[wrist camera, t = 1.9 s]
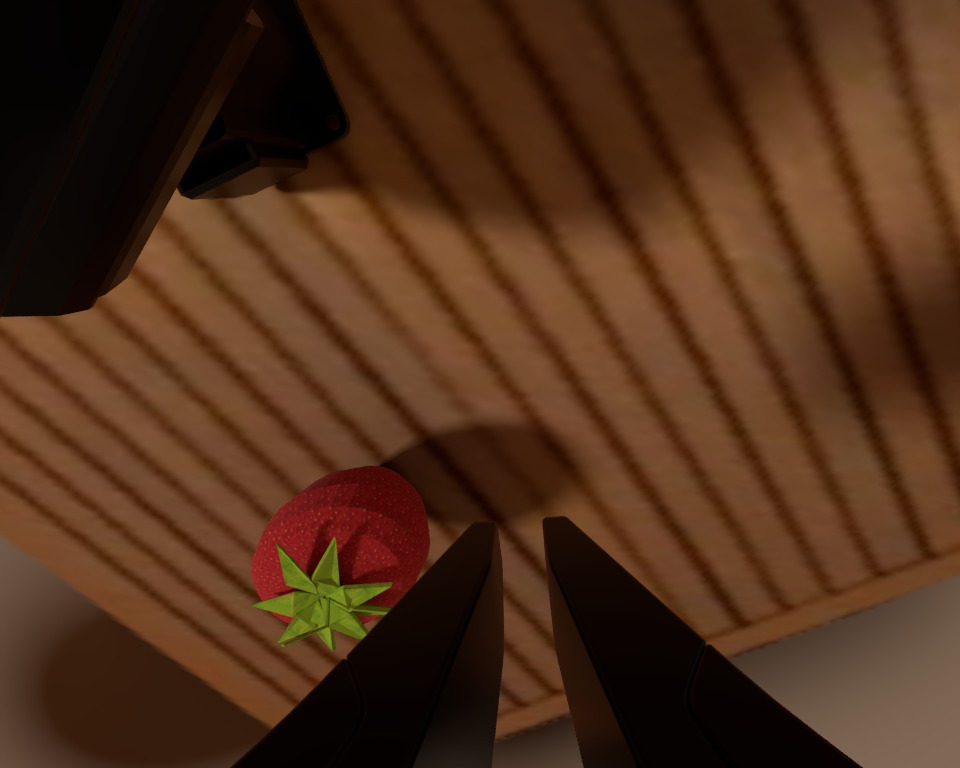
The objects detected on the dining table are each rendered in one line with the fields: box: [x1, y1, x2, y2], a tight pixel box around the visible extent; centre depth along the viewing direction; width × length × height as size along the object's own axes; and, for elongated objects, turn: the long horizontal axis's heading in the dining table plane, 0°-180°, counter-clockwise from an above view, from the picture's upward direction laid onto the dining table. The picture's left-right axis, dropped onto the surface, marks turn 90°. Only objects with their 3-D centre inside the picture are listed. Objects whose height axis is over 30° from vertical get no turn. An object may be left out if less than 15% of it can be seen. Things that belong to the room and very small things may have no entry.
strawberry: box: [251, 466, 430, 651], centre depth 19 cm, size 6×8×10 cm
